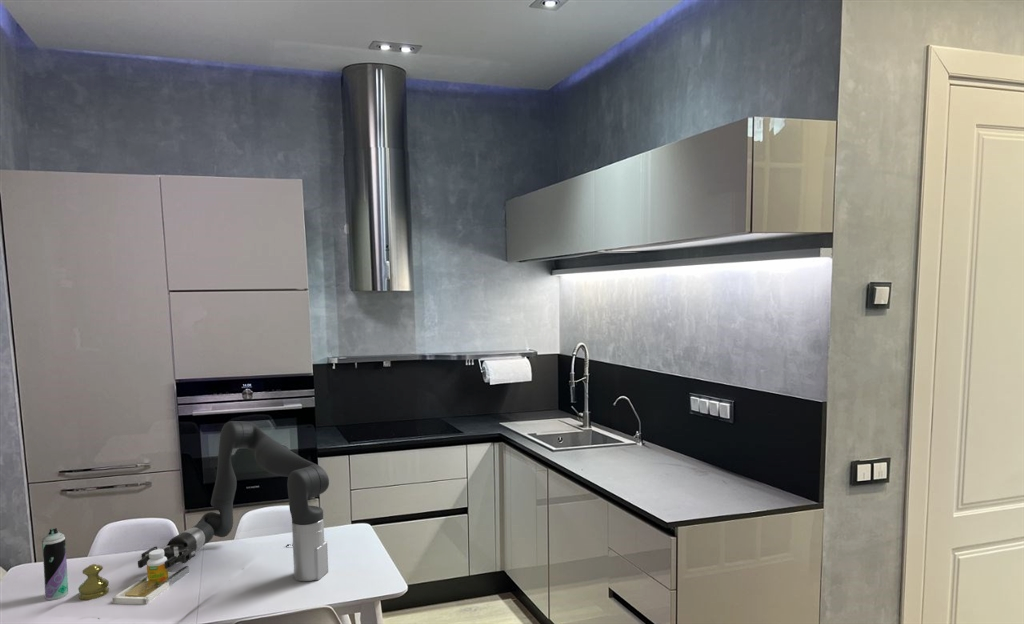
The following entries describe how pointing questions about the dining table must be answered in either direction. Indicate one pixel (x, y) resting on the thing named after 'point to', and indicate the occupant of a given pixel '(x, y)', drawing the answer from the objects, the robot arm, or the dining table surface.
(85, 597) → the gold metal knob shape
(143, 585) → the chip
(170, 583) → the rail
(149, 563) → the supplement bottle
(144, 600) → the tray
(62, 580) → the spray can
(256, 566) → the dining table surface
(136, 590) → the tan block
